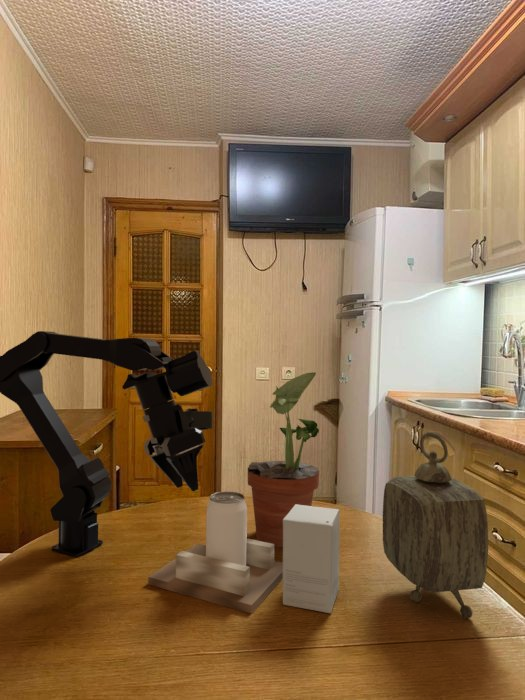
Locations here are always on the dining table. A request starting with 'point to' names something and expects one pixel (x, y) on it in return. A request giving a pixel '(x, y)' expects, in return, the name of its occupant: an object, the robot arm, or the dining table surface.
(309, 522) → the supplement box
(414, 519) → the tabletop clock
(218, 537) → the can
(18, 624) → the dining table surface
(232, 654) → the dining table surface
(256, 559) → the slot block
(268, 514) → the potted plant
